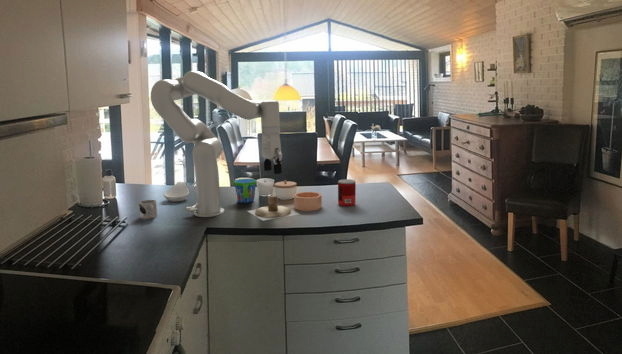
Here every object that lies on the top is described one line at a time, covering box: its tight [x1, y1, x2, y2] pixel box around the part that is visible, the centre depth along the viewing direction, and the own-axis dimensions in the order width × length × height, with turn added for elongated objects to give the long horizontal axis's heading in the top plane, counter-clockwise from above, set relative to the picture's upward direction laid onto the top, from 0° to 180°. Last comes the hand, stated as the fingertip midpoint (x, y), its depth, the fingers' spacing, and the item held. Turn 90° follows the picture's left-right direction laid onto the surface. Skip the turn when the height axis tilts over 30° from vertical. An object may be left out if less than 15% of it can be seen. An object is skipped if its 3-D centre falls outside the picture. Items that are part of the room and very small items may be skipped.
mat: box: [247, 209, 301, 222], centre depth 184 cm, size 17×17×1 cm
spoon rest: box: [163, 181, 190, 203], centre depth 215 cm, size 24×12×7 cm, turn 5°
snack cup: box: [233, 178, 258, 204], centre depth 204 cm, size 16×10×10 cm
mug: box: [138, 199, 158, 220], centre depth 180 cm, size 10×7×7 cm
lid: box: [254, 194, 292, 218], centre depth 183 cm, size 15×15×7 cm
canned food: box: [337, 178, 357, 207], centre depth 197 cm, size 8×8×11 cm
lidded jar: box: [273, 179, 298, 201], centre depth 208 cm, size 11×11×9 cm
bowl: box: [293, 191, 323, 212], centre depth 192 cm, size 12×12×6 cm
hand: (272, 172), depth 181 cm, fingers open, 9 cm apart
